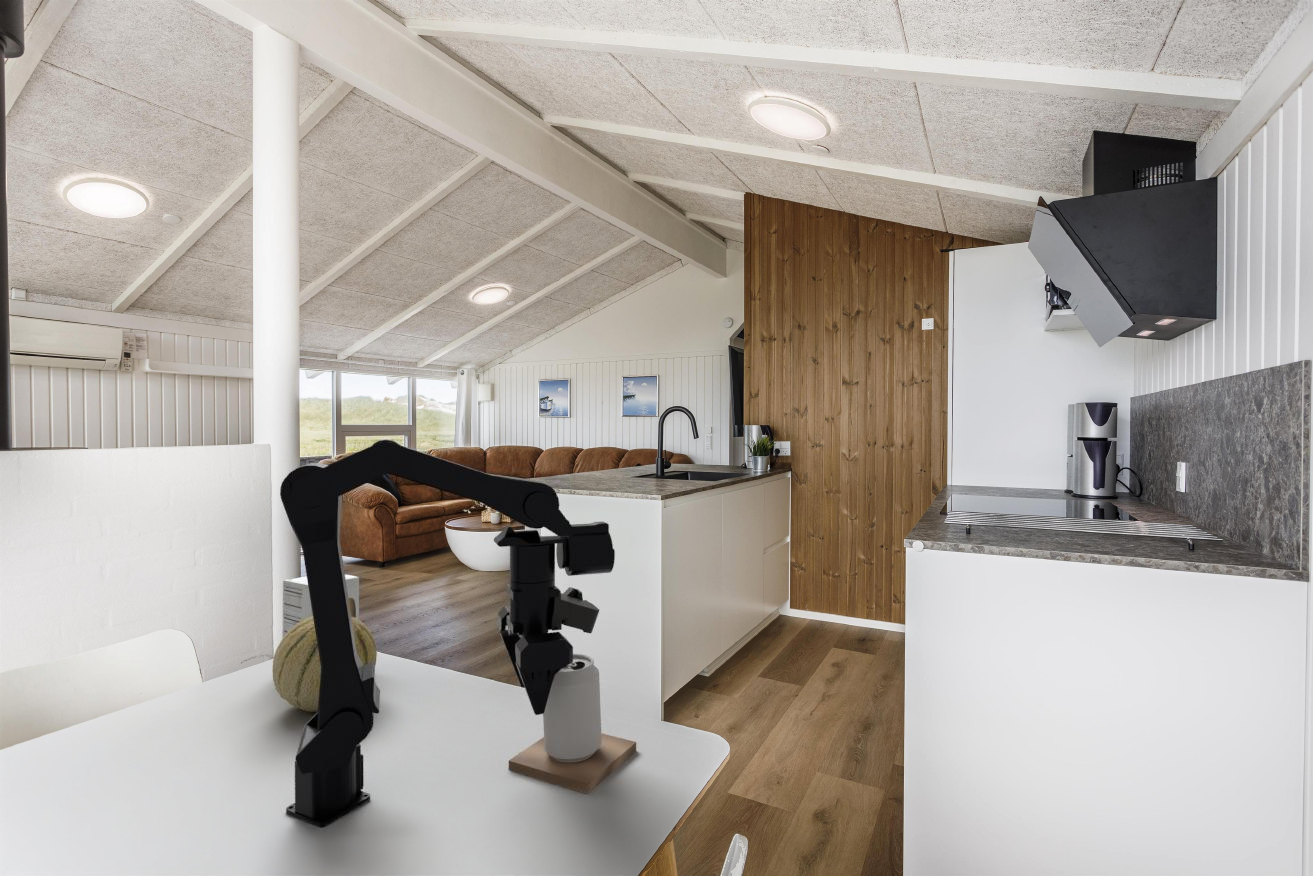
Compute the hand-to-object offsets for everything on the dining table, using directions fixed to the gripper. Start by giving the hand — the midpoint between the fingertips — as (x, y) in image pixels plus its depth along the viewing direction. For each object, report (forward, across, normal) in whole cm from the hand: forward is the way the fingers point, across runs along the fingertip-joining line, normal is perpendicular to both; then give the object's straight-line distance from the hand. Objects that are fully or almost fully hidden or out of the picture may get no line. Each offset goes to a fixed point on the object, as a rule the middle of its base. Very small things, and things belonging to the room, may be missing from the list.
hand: (531, 699), depth 85 cm
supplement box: (+9, +48, +29) cm, 57 cm away
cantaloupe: (+9, +31, +26) cm, 41 cm away
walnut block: (+10, 0, -6) cm, 11 cm away
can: (+8, 0, -6) cm, 9 cm away
